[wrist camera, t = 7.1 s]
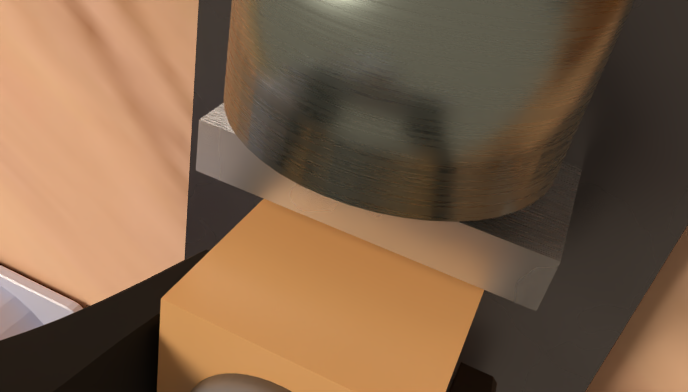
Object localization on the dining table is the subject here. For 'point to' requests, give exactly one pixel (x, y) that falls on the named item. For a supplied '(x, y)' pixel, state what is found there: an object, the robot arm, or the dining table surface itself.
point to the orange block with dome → (310, 314)
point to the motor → (461, 152)
